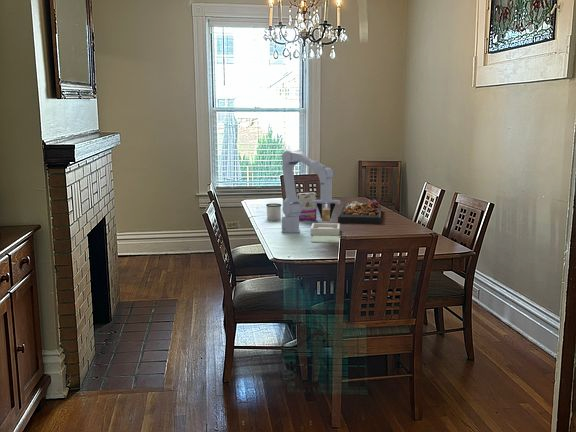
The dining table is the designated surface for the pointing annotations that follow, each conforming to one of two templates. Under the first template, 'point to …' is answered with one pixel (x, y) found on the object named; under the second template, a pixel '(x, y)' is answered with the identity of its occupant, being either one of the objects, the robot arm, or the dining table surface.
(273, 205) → the mug
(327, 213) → the wood block
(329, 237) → the pad
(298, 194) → the candy bar box
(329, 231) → the white square tray
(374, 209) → the food platter
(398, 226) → the dining table surface
